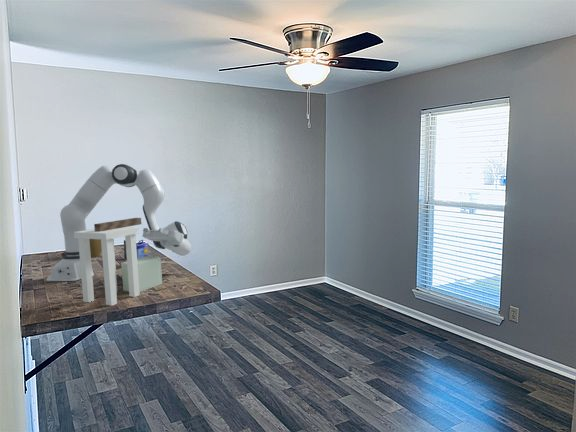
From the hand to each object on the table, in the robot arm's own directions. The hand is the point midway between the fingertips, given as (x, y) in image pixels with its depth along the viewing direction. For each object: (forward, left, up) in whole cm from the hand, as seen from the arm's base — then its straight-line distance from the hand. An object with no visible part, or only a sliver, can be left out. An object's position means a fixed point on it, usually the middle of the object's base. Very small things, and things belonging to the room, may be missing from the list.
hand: (151, 229), depth 212 cm
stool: (-14, -24, -26) cm, 38 cm away
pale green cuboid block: (-4, -7, -26) cm, 28 cm away
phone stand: (-29, +67, -27) cm, 78 cm away
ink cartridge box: (-18, +47, -27) cm, 57 cm away
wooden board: (-10, -18, +4) cm, 21 cm away
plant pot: (-56, +82, -26) cm, 103 cm away
